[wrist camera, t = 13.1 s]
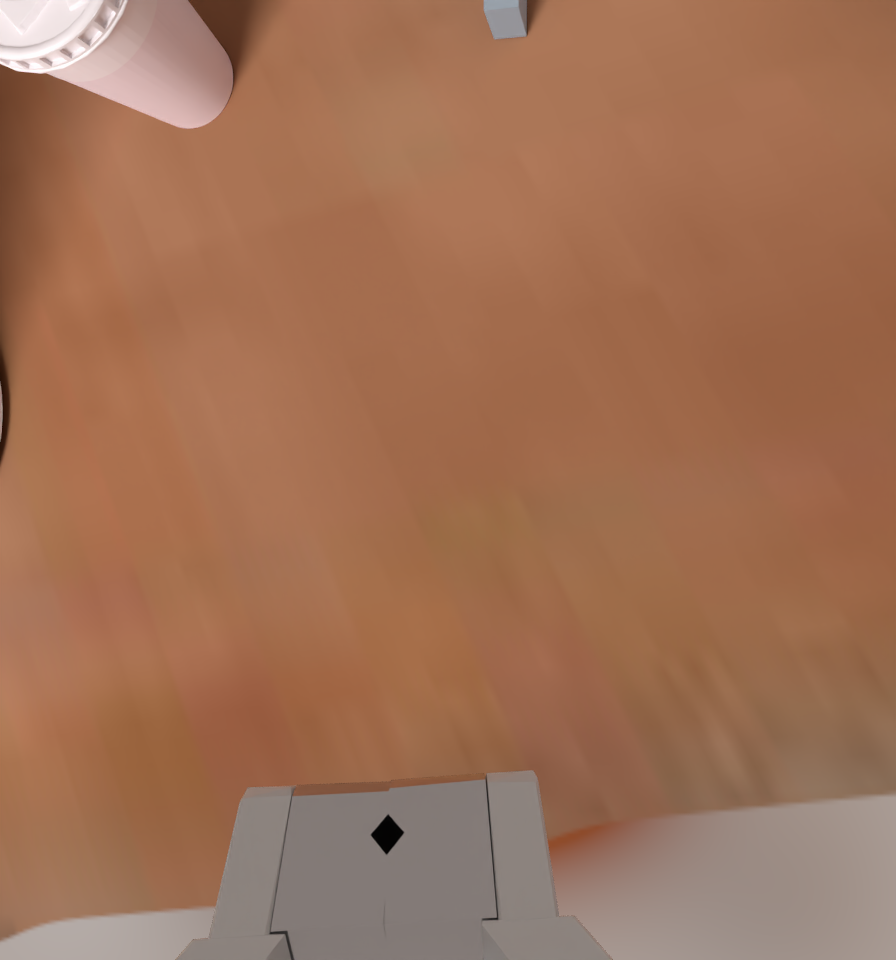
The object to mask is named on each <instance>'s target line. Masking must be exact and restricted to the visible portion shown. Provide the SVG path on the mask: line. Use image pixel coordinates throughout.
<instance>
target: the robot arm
mask: <svg viewBox="0 0 896 960" xmlns="http://www.w3.org/2000/svg"><path fill="white" fill-rule="evenodd" d="M2 419H3V406H2V391H1V383H0V440H1V432H2ZM175 960H613V959H612V958H611V957H610V956H609V955H608V953H607V952H606V951H605V950H604V949H603V948H602V946H601V945H600V944H599V943H598V942H597V941H596V940H595V938H593V936H592V935H591V934H590V933H589V932H588V930H587V929H586V928H585V927H584V926H583V925H582V924H581V922H580V921H579V920H578V919H577V918H576V917H575V916H559V912H558V906H557V899H556V892H555V886H554V880H553V874H552V867H551V861H550V855H549V848H548V841H547V835H546V829H545V822H544V816H543V810H542V803H541V797H540V790H539V784H538V778H537V776H536V775H535V773H534V771H533V770H530V771H515V772H500V773H486V778H485V774H484V773H478V774H464V775H451V776H438V777H424V778H411V779H398V780H391V781H389V782H362V783H334V784H307V785H295V786H272V787H249V788H247V790H246V792H245V793H244V795H243V797H242V799H241V801H240V804H239V808H238V812H237V817H236V821H235V825H234V830H233V834H232V838H231V843H230V847H229V851H228V856H227V860H226V864H225V869H224V873H223V877H222V882H221V886H220V890H219V895H218V899H217V903H216V908H215V912H214V916H213V921H212V925H211V929H210V934H209V938H203V939H193V940H192V941H191V942H190V943H189V945H188V946H187V947H186V948H185V949H184V950H183V952H181V954H180V955H179V956H178V957H177V958H176V959H175Z"/></svg>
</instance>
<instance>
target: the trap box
mask: <svg viewBox="0 0 896 960" xmlns="http://www.w3.org/2000/svg"><path fill="white" fill-rule="evenodd" d="M484 12H485V15H486V18H487V21H488V23H489V26H490V29H491V32H492V35H493V37H494V39H503V38H513V37H524V36H527V0H484Z"/></svg>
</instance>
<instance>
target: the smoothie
mask: <svg viewBox="0 0 896 960" xmlns="http://www.w3.org/2000/svg"><path fill="white" fill-rule="evenodd" d="M0 64H2V65H4V66H6V67H9V68H11V69H13V70H16V71H20V72H30V73H40V74H42V73H47V74H49V75H52V76H54V77H57V78H59V79H62V80H65V81H67V82H70V83H72V84H74V85H77V86H79V87H82V88H84V89H87V90H89V91H91V92H94V93H96V94H99V95H101V96H104V97H106V98H108V99H111V100H113V101H116V102H118V103H121V104H123V105H125V106H128V107H130V108H133V109H135V110H138V111H140V112H142V113H145V114H147V115H150V116H152V117H155V118H157V119H159V120H162V121H164V122H167V123H169V124H172V125H174V126H177V127H180V128H189V129H190V128H197V127H201V126H203V125H206V124H208V123H209V122H211V121H212V120H214V119H215V118H216V117H217V116H218V115H219V114H220V113H221V112H222V110H223V109H224V108H225V106H226V104H227V102H228V100H229V98H230V95H231V92H232V87H233V69H232V65H231V61H230V59H229V57H228V55H227V53H226V51H225V50H224V48H223V47H222V46H221V44H220V43H219V42H218V40H217V39H216V38H215V36H214V35H213V34H212V32H211V31H210V30H209V28H208V27H207V25H206V24H205V23H204V21H203V20H202V19H201V17H200V16H199V15H198V13H197V12H196V11H195V9H194V8H193V6H192V5H191V4H190V2H189V1H188V0H0Z"/></svg>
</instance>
